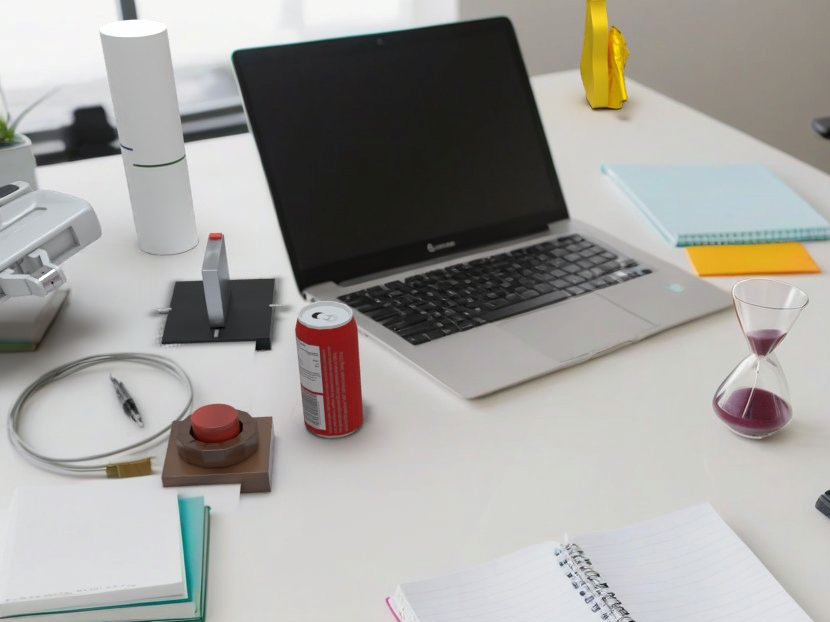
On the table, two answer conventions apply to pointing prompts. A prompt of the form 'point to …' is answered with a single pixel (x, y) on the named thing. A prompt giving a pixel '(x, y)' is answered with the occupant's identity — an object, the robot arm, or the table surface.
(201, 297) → the panel
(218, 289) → the grey upright flat block
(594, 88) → the figure statuette
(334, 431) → the soda can
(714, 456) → the table surface
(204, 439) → the button
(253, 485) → the button block
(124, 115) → the cylindrical container
